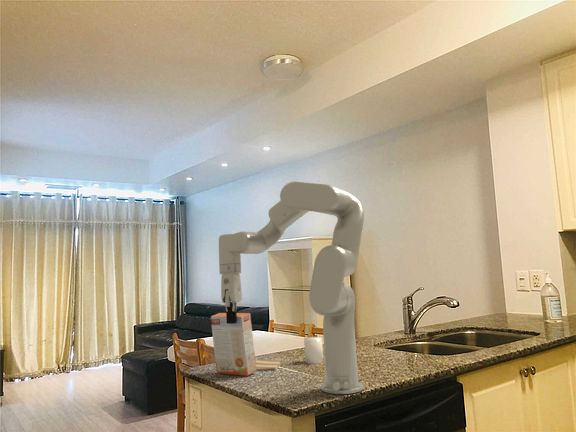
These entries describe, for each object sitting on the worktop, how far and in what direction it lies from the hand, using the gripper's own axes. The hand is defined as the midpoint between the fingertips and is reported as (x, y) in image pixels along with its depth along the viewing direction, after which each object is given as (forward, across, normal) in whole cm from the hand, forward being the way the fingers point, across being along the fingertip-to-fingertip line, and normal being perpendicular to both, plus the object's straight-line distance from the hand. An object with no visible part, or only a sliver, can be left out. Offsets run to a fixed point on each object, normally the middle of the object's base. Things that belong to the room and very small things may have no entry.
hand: (231, 323), depth 149 cm
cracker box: (+18, +9, +1) cm, 20 cm away
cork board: (+19, +21, -3) cm, 28 cm away
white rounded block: (+19, +27, -25) cm, 41 cm away
